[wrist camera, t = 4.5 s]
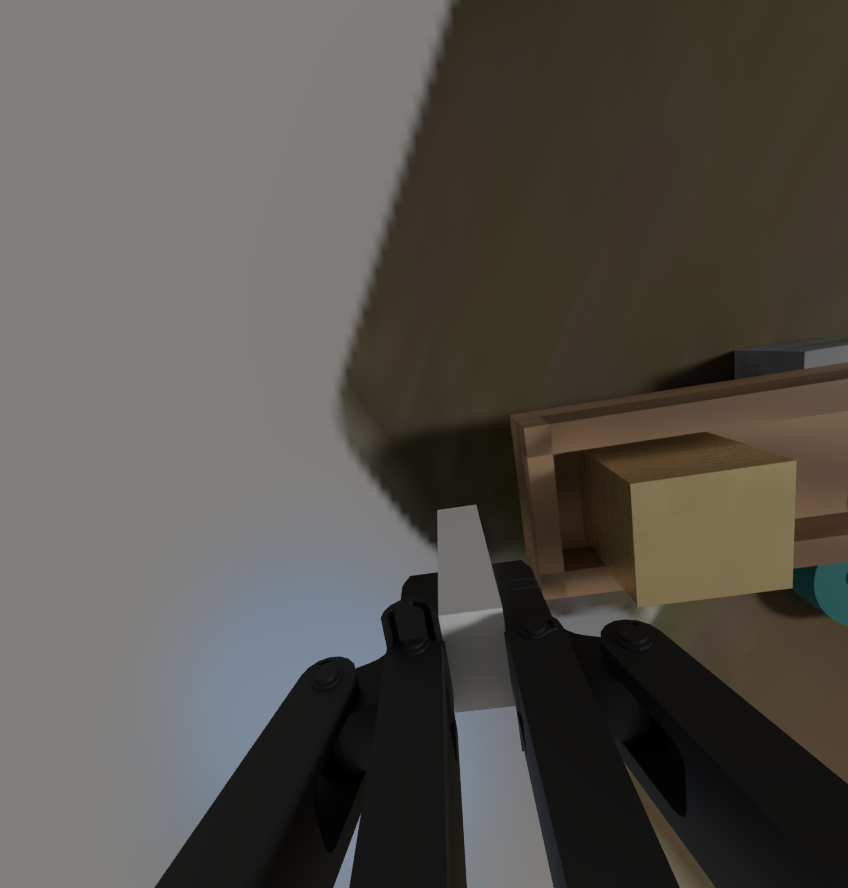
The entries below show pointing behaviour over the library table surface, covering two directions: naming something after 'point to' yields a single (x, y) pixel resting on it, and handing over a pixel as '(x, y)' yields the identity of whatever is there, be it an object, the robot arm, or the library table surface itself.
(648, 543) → the block
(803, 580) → the bracket
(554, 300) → the library table surface
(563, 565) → the brown long open piece
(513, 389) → the library table surface
